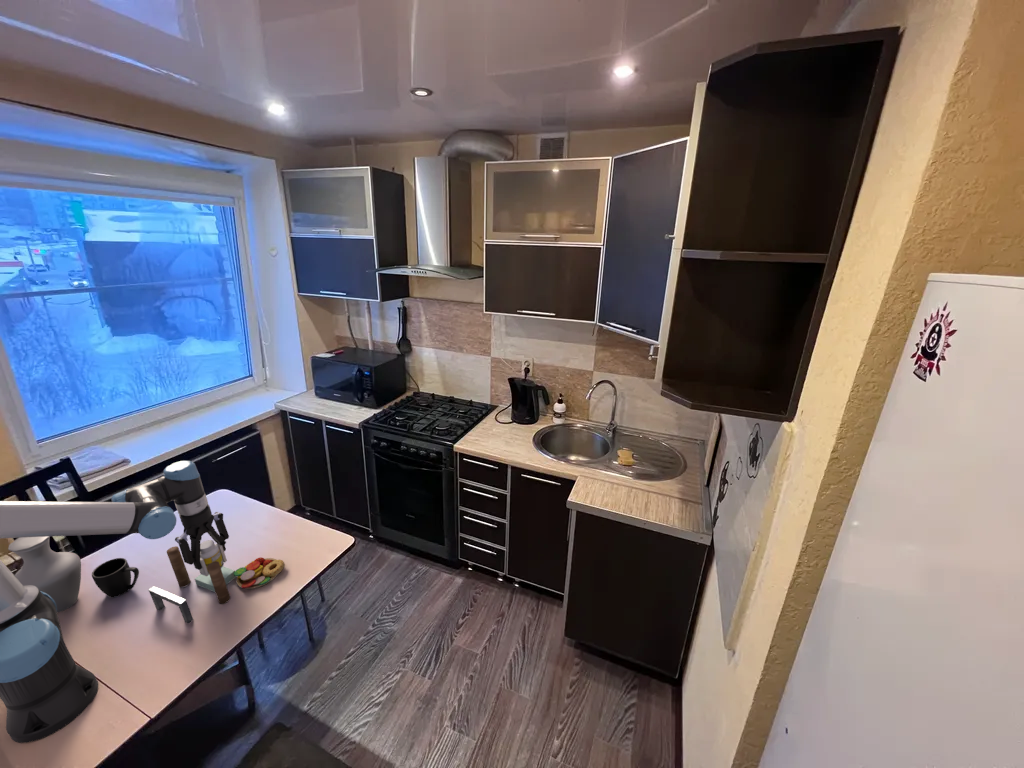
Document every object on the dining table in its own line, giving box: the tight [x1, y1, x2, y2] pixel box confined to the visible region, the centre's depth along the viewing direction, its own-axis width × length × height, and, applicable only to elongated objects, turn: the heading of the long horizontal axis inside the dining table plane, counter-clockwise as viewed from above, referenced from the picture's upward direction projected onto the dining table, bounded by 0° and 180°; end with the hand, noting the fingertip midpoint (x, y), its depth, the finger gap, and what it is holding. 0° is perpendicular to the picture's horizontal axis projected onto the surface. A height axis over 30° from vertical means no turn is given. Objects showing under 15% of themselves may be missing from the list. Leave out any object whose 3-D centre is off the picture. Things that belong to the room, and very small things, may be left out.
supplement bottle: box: [200, 539, 225, 573], centre depth 134 cm, size 5×5×10 cm
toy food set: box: [234, 557, 286, 590], centre depth 140 cm, size 13×13×3 cm
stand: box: [194, 565, 237, 593], centre depth 138 cm, size 7×9×2 cm
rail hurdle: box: [148, 585, 194, 625], centre depth 125 cm, size 2×14×8 cm, turn 70°
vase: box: [7, 536, 82, 613], centre depth 125 cm, size 14×14×25 cm
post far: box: [166, 546, 192, 588], centre depth 134 cm, size 3×3×14 cm
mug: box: [91, 557, 140, 598], centre depth 133 cm, size 8×12×10 cm
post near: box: [207, 561, 231, 605], centre depth 129 cm, size 3×3×14 cm
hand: (214, 567), depth 136 cm, fingers closed on supplement bottle, 5 cm apart
